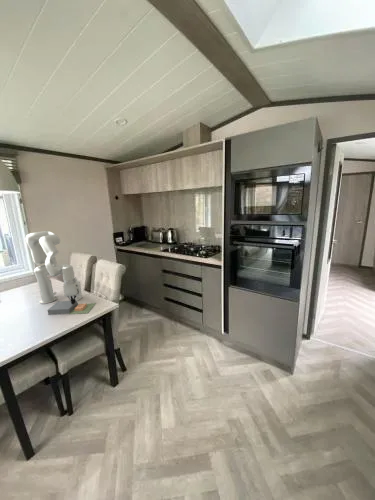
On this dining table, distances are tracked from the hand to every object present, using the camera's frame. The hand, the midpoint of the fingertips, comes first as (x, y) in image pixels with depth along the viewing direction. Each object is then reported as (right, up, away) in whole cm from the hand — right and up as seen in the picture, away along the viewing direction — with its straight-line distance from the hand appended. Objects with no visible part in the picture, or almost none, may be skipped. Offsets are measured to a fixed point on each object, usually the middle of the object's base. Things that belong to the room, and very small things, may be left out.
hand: (73, 303), depth 171 cm
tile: (+5, -2, +1) cm, 6 cm away
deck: (-8, -5, +1) cm, 10 cm away
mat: (+7, -5, +1) cm, 8 cm away
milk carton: (-8, -1, +19) cm, 21 cm away
